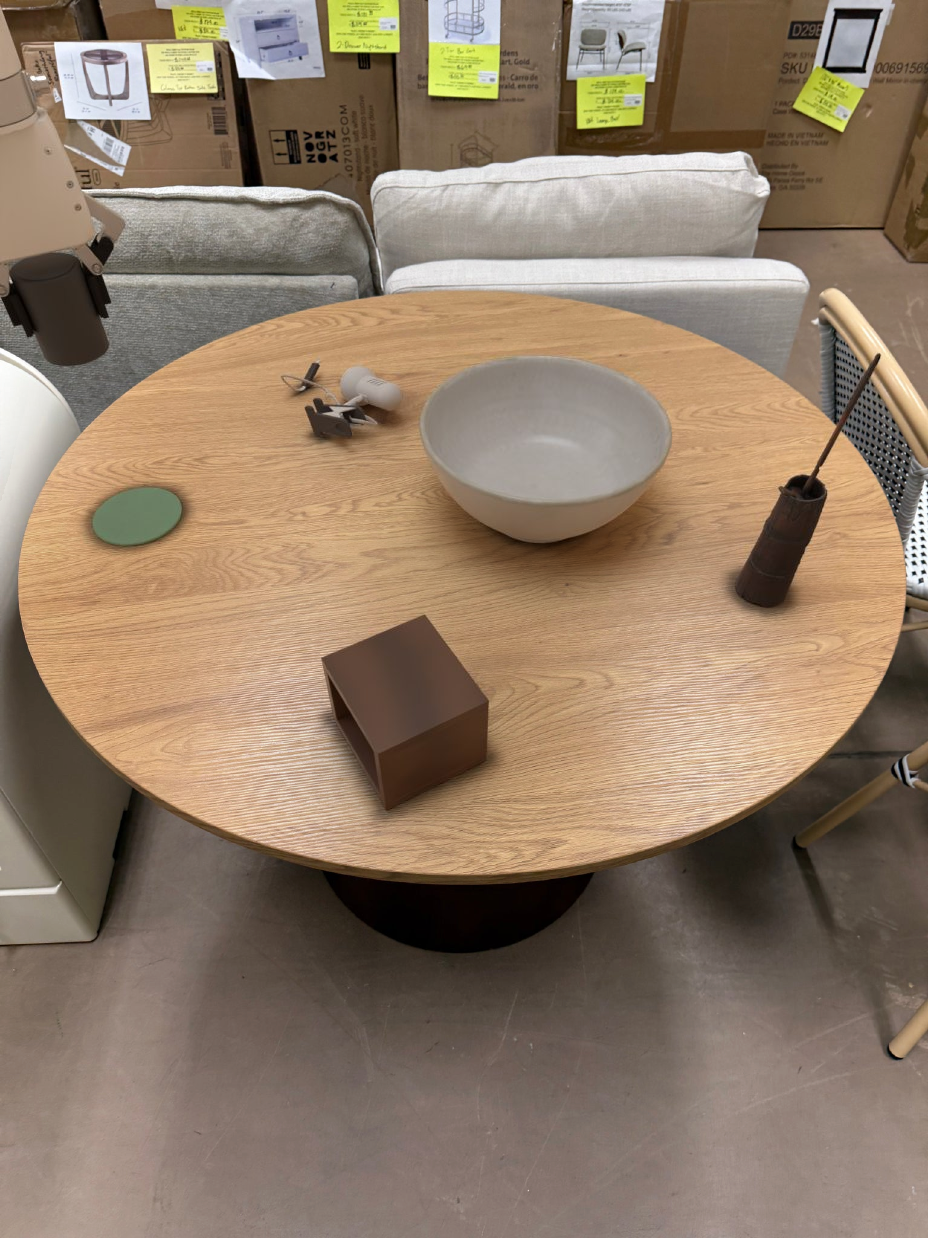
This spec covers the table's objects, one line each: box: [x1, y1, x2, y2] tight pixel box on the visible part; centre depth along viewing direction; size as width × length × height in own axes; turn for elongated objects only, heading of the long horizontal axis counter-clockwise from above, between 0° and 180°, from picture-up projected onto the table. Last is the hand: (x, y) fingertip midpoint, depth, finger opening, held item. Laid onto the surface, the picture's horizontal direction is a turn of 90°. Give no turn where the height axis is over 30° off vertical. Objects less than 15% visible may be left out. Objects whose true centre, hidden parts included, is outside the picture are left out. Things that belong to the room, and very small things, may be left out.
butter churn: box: [734, 352, 882, 608], centre depth 76 cm, size 9×10×28 cm
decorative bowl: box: [418, 354, 673, 544], centre depth 91 cm, size 27×27×12 cm
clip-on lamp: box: [279, 359, 403, 439], centre depth 107 cm, size 12×6×18 cm
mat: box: [91, 486, 183, 547], centre depth 94 cm, size 10×10×1 cm
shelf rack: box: [320, 613, 490, 811], centre depth 71 cm, size 10×11×9 cm
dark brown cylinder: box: [9, 252, 110, 367], centre depth 75 cm, size 6×6×8 cm
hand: (65, 319), depth 76 cm, fingers closed on dark brown cylinder, 6 cm apart
